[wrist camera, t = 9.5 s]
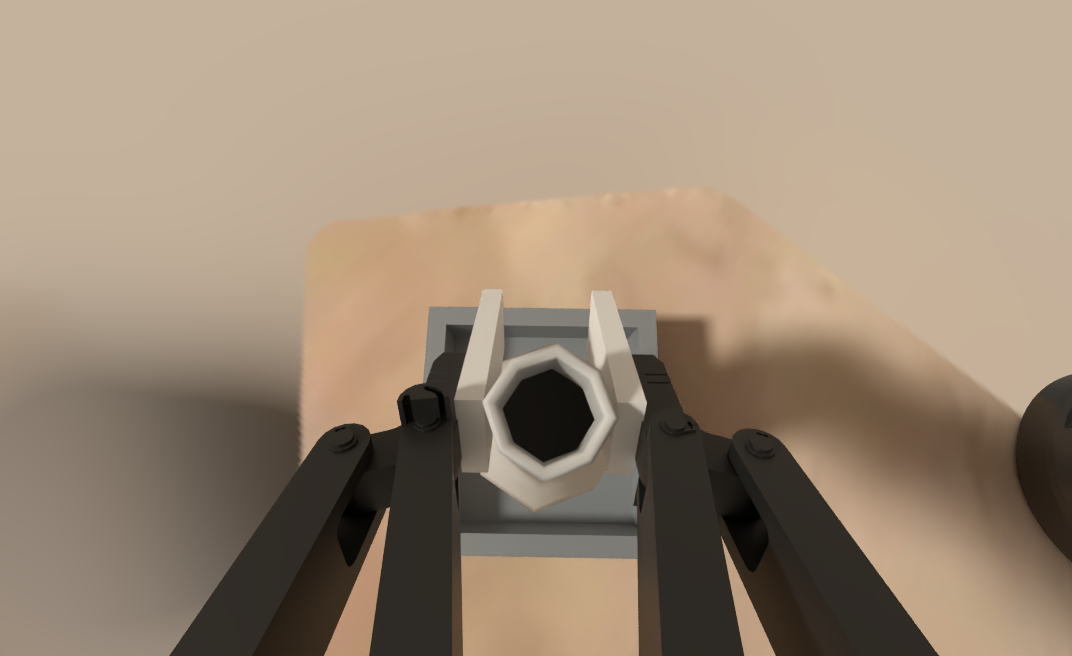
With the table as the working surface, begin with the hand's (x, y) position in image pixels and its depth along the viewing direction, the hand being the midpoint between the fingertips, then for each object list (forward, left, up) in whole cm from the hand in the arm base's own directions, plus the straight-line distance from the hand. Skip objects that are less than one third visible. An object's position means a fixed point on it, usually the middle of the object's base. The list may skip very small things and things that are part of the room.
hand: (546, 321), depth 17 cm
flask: (0, +4, -4) cm, 6 cm away
